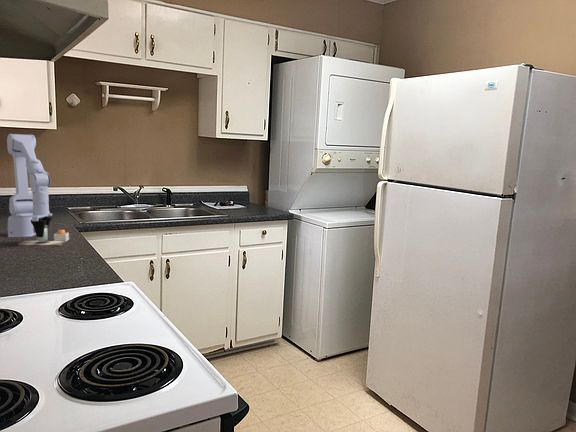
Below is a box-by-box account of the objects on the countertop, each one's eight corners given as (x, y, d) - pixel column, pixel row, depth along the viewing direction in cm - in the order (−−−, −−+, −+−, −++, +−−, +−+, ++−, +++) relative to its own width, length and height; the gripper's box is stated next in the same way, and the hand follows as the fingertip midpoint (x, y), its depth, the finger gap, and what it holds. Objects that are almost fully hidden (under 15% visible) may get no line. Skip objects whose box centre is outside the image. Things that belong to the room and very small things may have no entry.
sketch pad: (17, 245, 192) (17, 244, 191) (25, 241, 199) (24, 240, 199) (60, 245, 194) (60, 244, 194) (66, 241, 202) (65, 240, 202)
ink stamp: (35, 240, 194) (34, 226, 193) (38, 238, 198) (38, 224, 197) (45, 240, 195) (45, 226, 194) (49, 238, 199) (48, 224, 198)
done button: (56, 237, 202) (56, 230, 202) (59, 236, 205) (58, 229, 205) (64, 237, 203) (63, 230, 202) (66, 236, 205) (65, 229, 205)
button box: (54, 241, 201) (53, 234, 201) (57, 239, 206) (57, 232, 206) (65, 241, 202) (65, 234, 202) (68, 239, 207) (68, 232, 206)
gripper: (45, 205, 188) (46, 239, 190) (57, 200, 202) (58, 232, 204) (25, 205, 187) (27, 239, 189) (39, 200, 201) (40, 232, 203)
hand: (42, 236), depth 196 cm, fingers closed on ink stamp, 4 cm apart
